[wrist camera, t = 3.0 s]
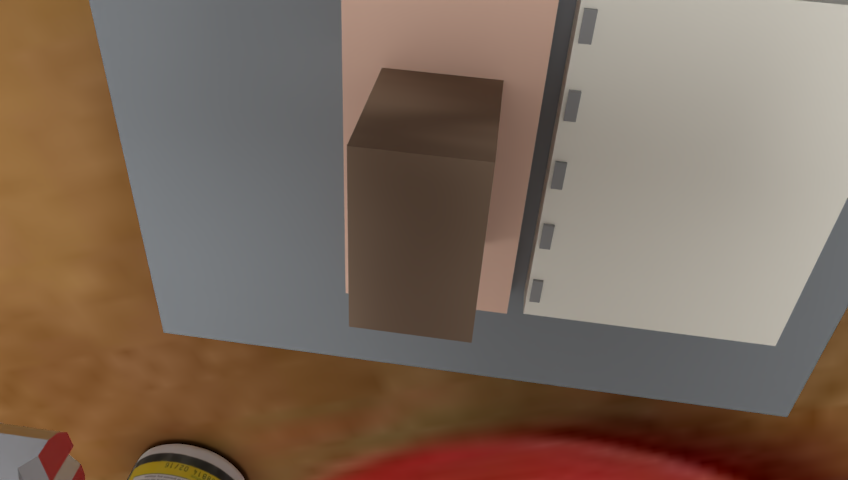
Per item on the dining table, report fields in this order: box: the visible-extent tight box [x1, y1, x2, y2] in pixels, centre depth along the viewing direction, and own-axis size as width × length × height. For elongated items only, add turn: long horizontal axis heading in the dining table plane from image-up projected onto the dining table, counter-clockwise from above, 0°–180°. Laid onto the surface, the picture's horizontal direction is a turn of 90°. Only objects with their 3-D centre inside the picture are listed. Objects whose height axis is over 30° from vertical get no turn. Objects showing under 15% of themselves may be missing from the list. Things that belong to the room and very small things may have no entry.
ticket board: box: [89, 0, 848, 417], centre depth 20 cm, size 22×18×3 cm
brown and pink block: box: [341, 0, 559, 343], centre depth 18 cm, size 5×10×5 cm, turn 177°
